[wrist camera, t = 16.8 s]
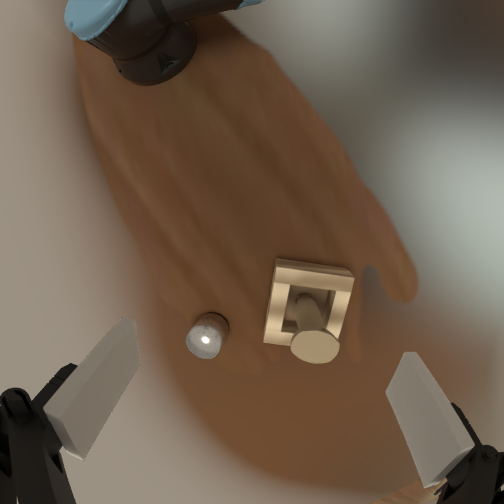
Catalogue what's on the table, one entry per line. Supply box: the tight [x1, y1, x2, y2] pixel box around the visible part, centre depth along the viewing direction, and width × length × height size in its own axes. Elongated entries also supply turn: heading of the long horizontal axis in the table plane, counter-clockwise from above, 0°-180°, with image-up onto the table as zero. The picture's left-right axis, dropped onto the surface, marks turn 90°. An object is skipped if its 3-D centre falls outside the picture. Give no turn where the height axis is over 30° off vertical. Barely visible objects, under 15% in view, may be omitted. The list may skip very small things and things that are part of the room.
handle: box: [291, 293, 339, 363], centre depth 42 cm, size 5×6×15 cm
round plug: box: [186, 313, 229, 359], centre depth 49 cm, size 6×6×6 cm
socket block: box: [263, 258, 355, 346], centre depth 47 cm, size 14×12×5 cm
